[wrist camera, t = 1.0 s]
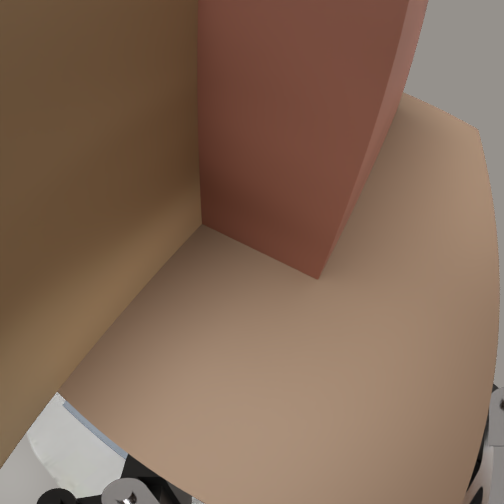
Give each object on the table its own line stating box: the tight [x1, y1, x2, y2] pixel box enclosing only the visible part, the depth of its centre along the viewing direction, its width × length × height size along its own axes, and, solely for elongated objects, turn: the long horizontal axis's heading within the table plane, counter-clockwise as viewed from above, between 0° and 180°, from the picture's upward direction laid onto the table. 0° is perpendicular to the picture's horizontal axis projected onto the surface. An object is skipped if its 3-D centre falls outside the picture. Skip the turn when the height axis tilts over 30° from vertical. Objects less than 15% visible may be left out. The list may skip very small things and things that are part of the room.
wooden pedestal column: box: [57, 93, 500, 504], centre depth 18 cm, size 11×10×32 cm
